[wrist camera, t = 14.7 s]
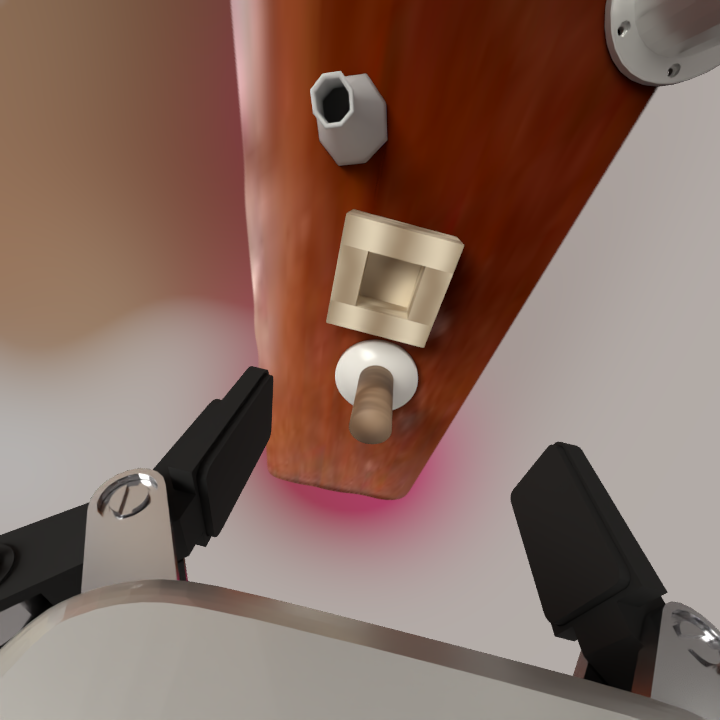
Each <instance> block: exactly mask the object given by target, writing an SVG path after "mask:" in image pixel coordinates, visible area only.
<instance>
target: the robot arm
mask: <svg viewBox="0 0 720 720" xmlns="http://www.w3.org/2000/svg"><path fill="white" fill-rule="evenodd" d="M618 29H619V30H620V35H618ZM605 34H606V42H607V47H608V49H609V52H610V55H611V58H612V60H613V62H614V63H615V65H616V66H617V68H618V69H619V70H620V72H621V73H623V74H624V75H625V76H626V77H628V78H629V79H630V80H632V81H635V82H637V83H640V84H642V85H648V86H657V87H658V86H666V85H673V84H676V83H680V82H683V81H686V80H690V79H692V78H694V77H697V76H699V75H702V74H704V73H707V72H708V71H710V70H712V69H714V68H715V67H717V66H719V65H720V0H607V2H606V7H605ZM668 71H669V74H668ZM667 74H668V75H667ZM272 399H273V376H271V375H269V372H268V370H265V369H261V368H257V367H253V366H251V367H249V368H248V369H247V370H246V371H245V372H244V374H243V375H242V376H241V377H240V379H239V380H238V381H237V382H236V384H235V385H234V386H233V387H232V388H231V390H230V391H229V392H228V393H227V395H226V396H225V397H224V398H223V399H222V400H220V399H215V400H213V401H212V402H211V403H210V404H209V405H208V406H207V407H206V408H205V410H204V411H203V412H202V413H201V414H200V415H199V416H198V418H197V419H196V420H195V421H194V422H193V424H192V425H191V426H190V427H189V428H188V429H187V430H186V432H185V433H184V434H183V435H182V436H181V437H180V439H179V440H178V441H177V442H176V443H175V444H174V446H173V447H172V448H171V449H170V450H169V451H168V453H167V454H166V455H165V456H164V457H163V458H162V460H161V461H160V462H159V463H158V464H157V465H156V467H155V468H154V469H153V470H151V469H141V468H138V469H133V470H128V471H125V472H123V473H120V474H117V475H115V476H114V477H113V478H111V479H109V480H108V481H106V482H105V483H104V484H102V485H101V486H100V487H99V488H98V489H97V490H96V492H95V493H94V494H93V496H92V497H91V499H90V502H89V503H87V504H84V505H81V506H78V507H76V508H73V509H70V510H67V511H65V512H62V513H60V514H57V515H54V516H51V517H48V518H46V519H43V520H40V521H38V522H35V523H32V524H29V525H27V526H24V527H21V528H19V529H16V530H13V531H10V532H8V533H5V534H2V535H0V720H720V632H719V631H718V629H717V628H715V626H714V625H713V624H711V623H710V622H709V621H708V620H707V619H706V618H704V617H703V616H702V615H701V614H699V613H698V612H696V611H695V610H693V609H692V608H690V607H688V606H686V605H684V604H682V603H678V602H669V603H667V604H665V602H664V601H663V599H662V597H661V596H662V595H664V594H666V593H667V591H666V589H665V587H664V586H663V584H662V582H661V581H660V579H659V577H658V576H657V574H656V572H655V571H654V569H653V567H652V566H651V564H650V562H649V561H648V559H647V557H646V556H645V554H644V552H643V551H642V549H641V548H640V546H639V544H638V542H637V541H636V539H635V537H634V536H633V535H632V533H631V531H630V529H629V528H628V526H627V524H626V523H625V521H624V519H623V518H622V516H621V515H620V513H619V511H618V510H617V508H616V506H615V504H614V503H613V501H612V499H611V498H610V496H609V494H608V493H607V491H606V489H605V488H604V486H603V484H602V483H601V481H600V479H599V478H598V476H597V474H596V473H595V471H594V470H593V468H592V466H591V465H590V463H589V461H588V460H587V458H586V456H585V455H584V453H583V451H582V450H581V449H580V448H579V447H578V446H575V445H570V444H567V443H563V442H556V443H555V444H554V445H550V446H548V448H547V449H546V450H545V451H544V452H543V454H542V455H541V456H540V457H539V459H538V460H537V461H536V462H535V463H534V465H533V466H532V467H531V468H530V470H529V471H528V472H527V473H526V475H525V476H524V477H523V478H522V480H521V481H520V482H519V483H518V484H517V486H516V487H515V488H514V489H513V491H512V493H511V504H512V506H513V510H514V514H515V517H516V520H517V524H518V527H519V530H520V534H521V537H522V541H523V544H524V547H525V550H526V554H527V557H528V561H529V564H530V568H531V571H532V574H533V577H534V581H535V584H536V588H537V591H538V594H539V598H540V601H541V605H542V608H543V611H544V614H545V617H546V618H547V620H548V621H549V622H550V623H551V625H552V628H553V632H554V635H555V636H556V637H559V638H564V639H567V640H571V641H576V640H577V639H578V642H579V645H580V647H581V652H580V655H579V659H578V661H577V665H576V668H575V671H574V674H573V676H570V675H567V674H562V673H559V672H555V671H551V670H548V669H544V668H540V667H536V666H532V665H529V664H525V663H521V662H517V661H513V660H510V659H506V658H502V657H498V656H494V655H491V654H487V653H482V652H479V651H475V650H471V649H467V648H464V647H460V646H456V645H452V644H448V643H444V642H440V641H436V640H433V639H429V638H425V637H421V636H417V635H413V634H409V633H405V632H402V631H398V630H394V629H390V628H385V627H382V626H378V625H374V624H370V623H366V622H362V621H358V620H355V619H350V618H346V617H342V616H338V615H334V614H331V613H327V612H323V611H319V610H314V609H311V608H307V607H303V606H299V605H295V604H291V603H287V602H283V601H279V600H275V599H270V598H266V597H262V596H258V595H253V594H249V593H244V592H240V591H236V590H232V589H227V588H223V587H219V586H213V585H207V584H201V583H195V582H189V581H188V578H187V570H186V564H185V557H187V556H189V555H190V553H191V551H192V550H193V548H194V546H195V544H196V545H200V546H204V547H206V546H207V544H208V542H209V540H210V538H211V536H213V537H217V536H218V535H219V533H220V532H221V530H222V528H223V526H224V524H225V522H226V521H227V519H228V517H229V515H230V513H231V511H232V509H233V507H234V505H235V503H236V501H237V500H238V497H239V496H240V494H241V492H242V490H243V488H244V486H245V484H246V482H247V481H248V479H249V477H250V475H251V473H252V471H253V469H254V467H255V465H256V463H257V462H258V460H259V458H260V456H261V454H262V452H263V450H264V448H265V446H266V444H267V442H268V440H269V438H270V435H271V424H272Z"/></svg>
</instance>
